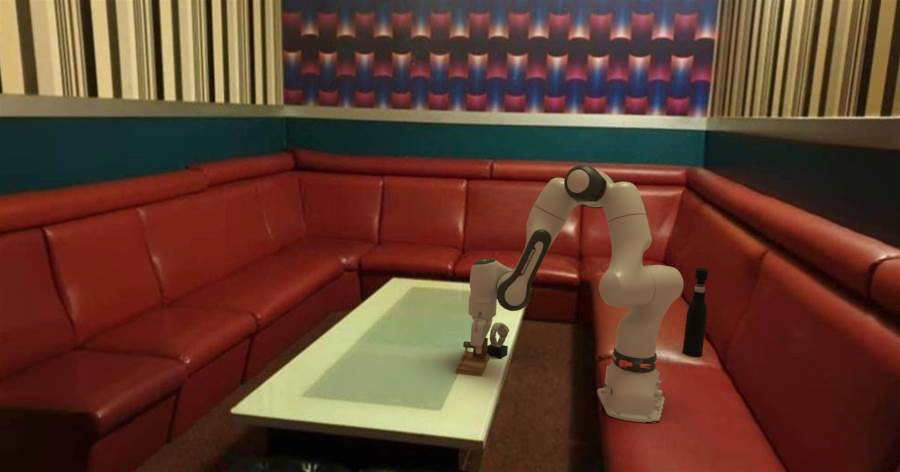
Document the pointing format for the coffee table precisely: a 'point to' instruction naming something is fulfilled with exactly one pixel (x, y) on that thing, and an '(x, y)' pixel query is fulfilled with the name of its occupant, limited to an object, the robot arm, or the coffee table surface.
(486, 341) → the brown stepped block
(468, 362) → the board
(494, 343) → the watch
